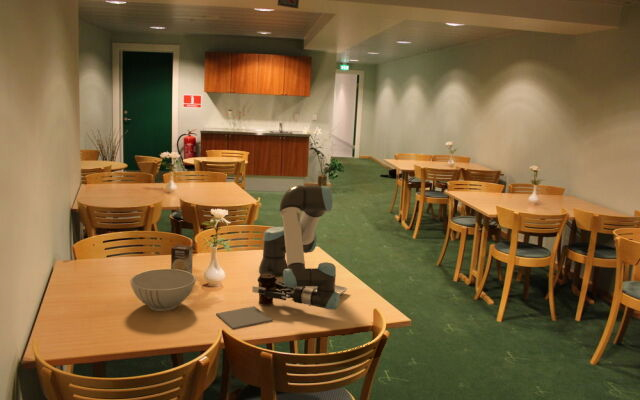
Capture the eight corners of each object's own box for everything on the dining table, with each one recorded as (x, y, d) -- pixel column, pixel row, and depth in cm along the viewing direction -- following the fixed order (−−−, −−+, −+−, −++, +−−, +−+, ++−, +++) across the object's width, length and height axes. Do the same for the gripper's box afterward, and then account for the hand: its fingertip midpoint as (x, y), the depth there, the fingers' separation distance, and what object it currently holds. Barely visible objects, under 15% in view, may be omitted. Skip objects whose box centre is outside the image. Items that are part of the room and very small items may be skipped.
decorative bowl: (136, 322, 224) (136, 293, 221) (125, 298, 247) (125, 272, 245) (202, 313, 236) (203, 285, 234) (186, 291, 259) (186, 266, 257)
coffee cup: (278, 301, 253) (280, 274, 251) (271, 308, 246) (272, 279, 243) (261, 298, 256) (262, 271, 254) (253, 304, 248) (254, 276, 246)
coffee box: (170, 279, 273) (170, 248, 270) (174, 275, 279) (175, 244, 276) (188, 281, 272) (188, 249, 269) (192, 277, 278) (193, 246, 275)
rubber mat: (254, 307, 245) (254, 306, 245) (272, 320, 232) (272, 319, 232) (216, 314, 235) (216, 313, 235) (232, 329, 222) (232, 327, 222)
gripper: (294, 311, 235) (245, 301, 242) (312, 295, 253) (266, 286, 261) (295, 294, 233) (246, 284, 241) (313, 280, 252) (267, 271, 260)
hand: (257, 285), depth 251 cm, fingers closed on coffee cup, 7 cm apart
